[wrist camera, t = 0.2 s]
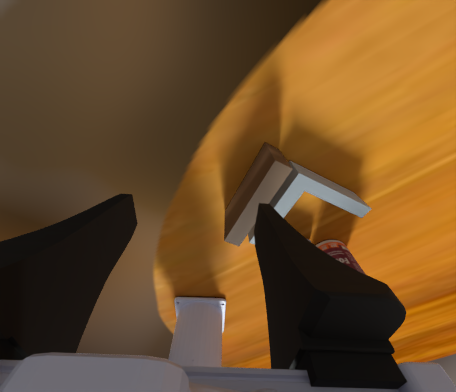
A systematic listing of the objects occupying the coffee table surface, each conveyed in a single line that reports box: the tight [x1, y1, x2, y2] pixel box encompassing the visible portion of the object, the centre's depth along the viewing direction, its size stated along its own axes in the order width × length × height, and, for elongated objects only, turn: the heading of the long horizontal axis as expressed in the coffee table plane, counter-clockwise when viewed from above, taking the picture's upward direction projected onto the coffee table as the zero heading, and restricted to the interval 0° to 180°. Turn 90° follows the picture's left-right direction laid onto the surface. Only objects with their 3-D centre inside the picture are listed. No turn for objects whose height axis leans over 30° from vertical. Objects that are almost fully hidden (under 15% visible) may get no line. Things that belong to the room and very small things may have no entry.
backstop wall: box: [224, 143, 292, 246], centre depth 20 cm, size 2×9×5 cm, turn 154°
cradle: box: [248, 160, 371, 244], centre depth 22 cm, size 8×9×3 cm
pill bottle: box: [316, 240, 366, 275], centre depth 24 cm, size 5×5×8 cm
